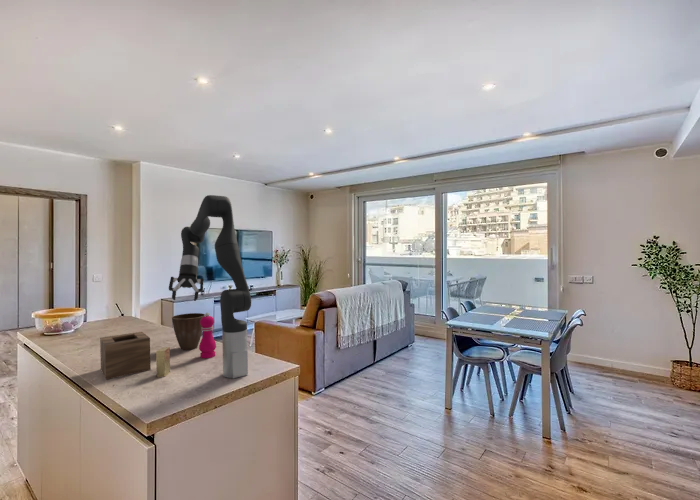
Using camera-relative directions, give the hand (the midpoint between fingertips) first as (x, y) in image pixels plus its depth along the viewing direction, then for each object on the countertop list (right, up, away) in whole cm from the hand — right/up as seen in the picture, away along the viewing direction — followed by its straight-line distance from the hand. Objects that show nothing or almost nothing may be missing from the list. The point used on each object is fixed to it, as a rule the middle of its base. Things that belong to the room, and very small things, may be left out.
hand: (184, 300), depth 157 cm
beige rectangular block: (+1, -26, -21) cm, 33 cm away
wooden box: (-17, -26, -15) cm, 35 cm away
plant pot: (-5, -26, +15) cm, 31 cm away
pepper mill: (+10, -26, +1) cm, 28 cm away
